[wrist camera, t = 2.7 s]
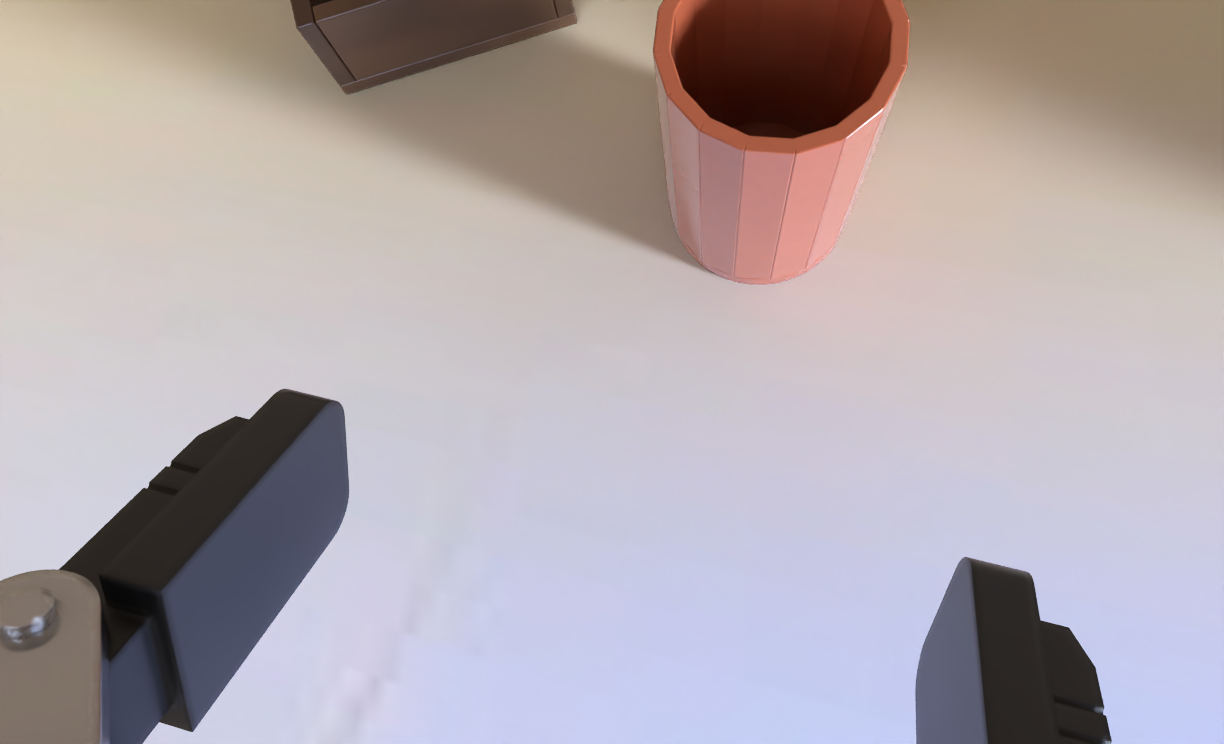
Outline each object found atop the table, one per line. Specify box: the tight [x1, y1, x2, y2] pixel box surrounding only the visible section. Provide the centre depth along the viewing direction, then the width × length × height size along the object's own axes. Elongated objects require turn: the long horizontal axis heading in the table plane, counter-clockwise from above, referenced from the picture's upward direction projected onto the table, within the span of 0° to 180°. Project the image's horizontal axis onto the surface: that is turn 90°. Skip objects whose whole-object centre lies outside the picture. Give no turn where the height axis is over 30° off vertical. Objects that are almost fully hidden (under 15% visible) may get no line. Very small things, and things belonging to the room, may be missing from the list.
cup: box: [653, 0, 910, 284], centre depth 26 cm, size 6×6×10 cm
